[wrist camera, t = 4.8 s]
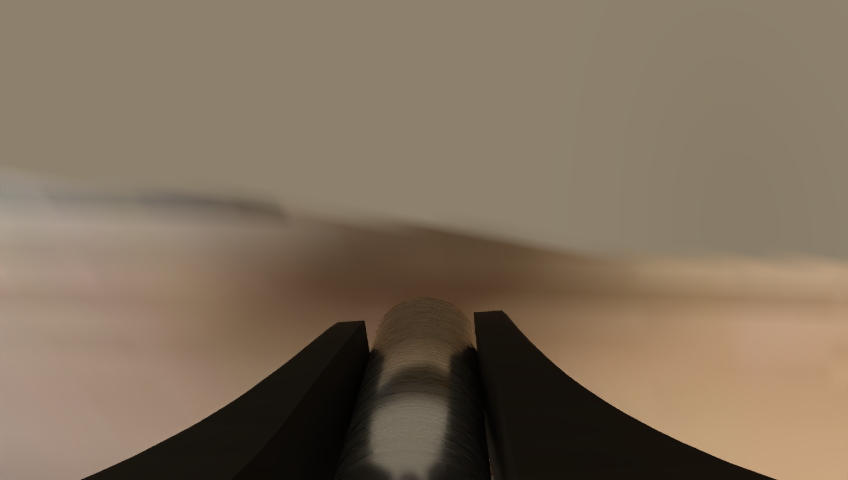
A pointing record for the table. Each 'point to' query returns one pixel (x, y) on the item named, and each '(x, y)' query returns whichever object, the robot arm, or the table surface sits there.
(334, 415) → the robot arm
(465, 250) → the table surface
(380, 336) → the sliding block with knob
